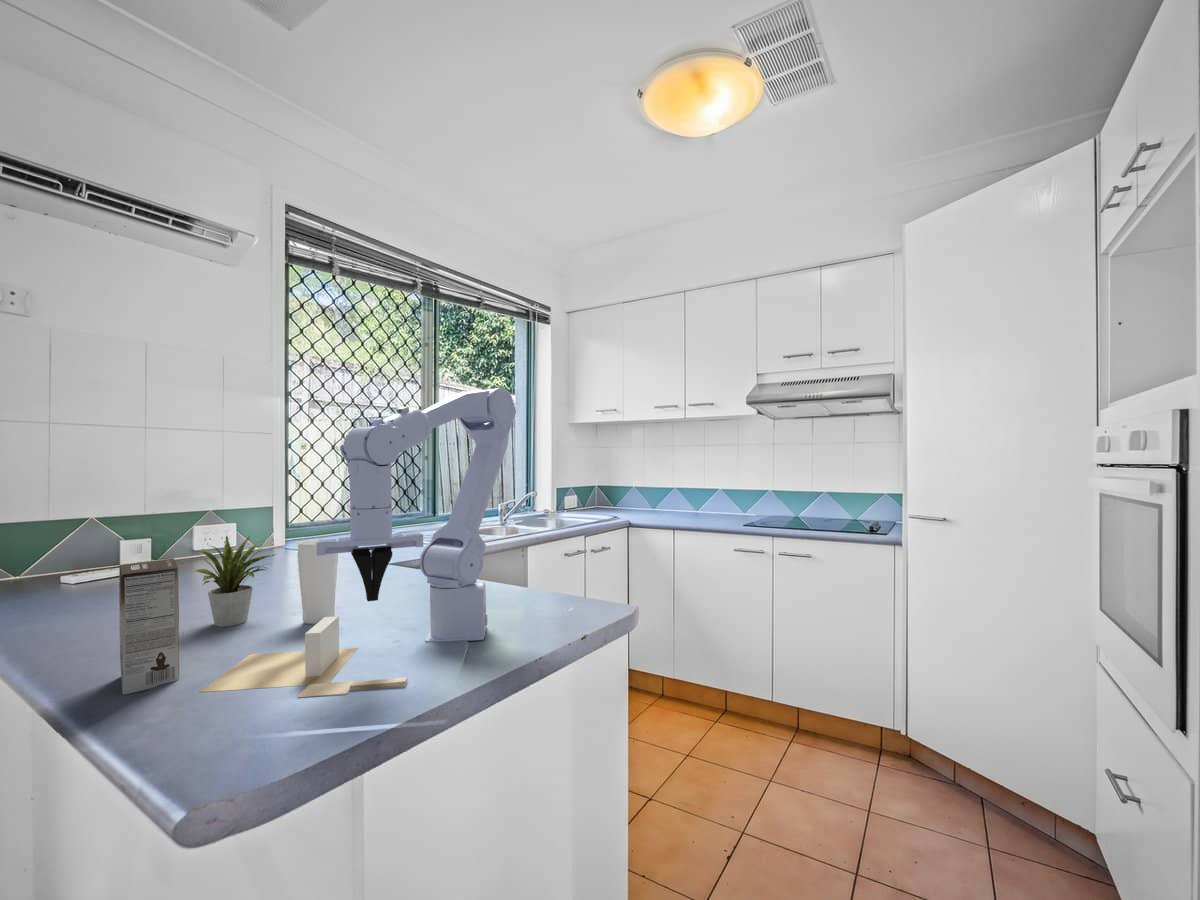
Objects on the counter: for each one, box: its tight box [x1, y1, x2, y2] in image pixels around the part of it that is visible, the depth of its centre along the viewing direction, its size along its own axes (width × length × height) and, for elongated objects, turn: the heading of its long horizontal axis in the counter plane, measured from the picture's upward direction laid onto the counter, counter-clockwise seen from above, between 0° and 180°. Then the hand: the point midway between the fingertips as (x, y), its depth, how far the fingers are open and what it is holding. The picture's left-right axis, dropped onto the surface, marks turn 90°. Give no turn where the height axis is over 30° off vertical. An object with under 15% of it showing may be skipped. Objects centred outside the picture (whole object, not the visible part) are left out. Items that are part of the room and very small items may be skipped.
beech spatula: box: [296, 676, 408, 699], centre depth 75 cm, size 13×4×1 cm, turn 98°
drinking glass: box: [297, 538, 339, 626], centre depth 106 cm, size 7×7×15 cm
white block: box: [304, 616, 340, 677], centre depth 83 cm, size 2×8×6 cm, turn 8°
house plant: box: [193, 535, 278, 628], centre depth 105 cm, size 14×14×16 cm
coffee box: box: [118, 558, 180, 696], centre depth 80 cm, size 9×6×16 cm
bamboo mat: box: [199, 647, 359, 693], centre depth 82 cm, size 16×14×1 cm
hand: (372, 599), depth 84 cm, fingers closed
